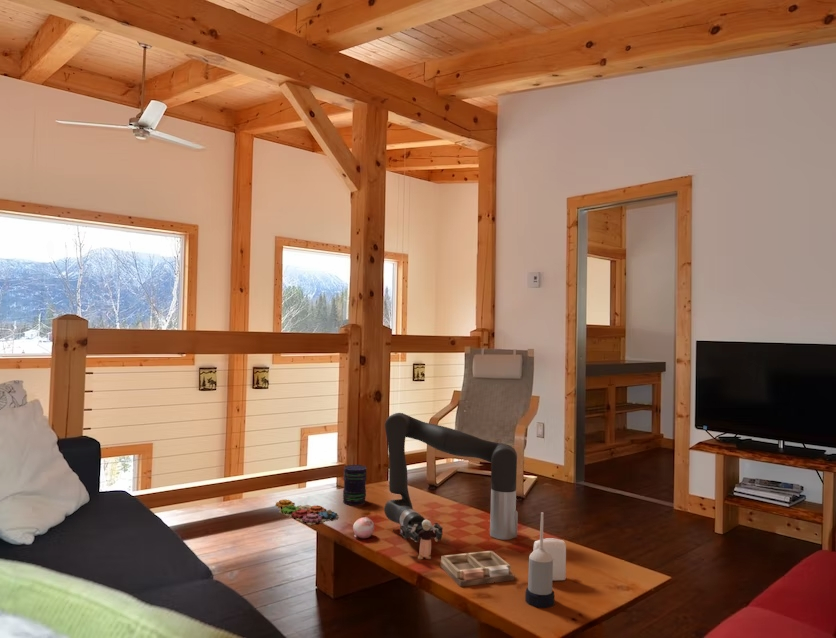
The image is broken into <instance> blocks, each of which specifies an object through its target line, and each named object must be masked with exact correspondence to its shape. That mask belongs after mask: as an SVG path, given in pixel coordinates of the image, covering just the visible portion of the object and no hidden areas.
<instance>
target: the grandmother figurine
mask: <svg viewBox="0 0 836 638" xmlns="http://www.w3.org/2000/svg"><path fill="white" fill-rule="evenodd" d="M422 526H423V529H424V530H421V531H420V532H419V533H418V535H419V539H420V540H419V549H418V550H419V553H418V556H417V559H418V560H424V558H425V559H426V560H431V559H432V556H431V553H432V538H433V539H434V542H438V541H439V540H438V539H437V535H436V534H435V532H434V530H433V531H431V530H429V529H430V527H431V526H433V524H432V522H431V521H430V519H429V520H428V519H425V520H424V521H423V522H422ZM414 542H415V543H417V542H416V541H414Z"/></svg>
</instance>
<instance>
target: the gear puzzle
mask: <svg viewBox="0 0 836 638" xmlns="http://www.w3.org/2000/svg"><path fill="white" fill-rule="evenodd" d="M295 504H296V503H295V502H293V501H292V500H289V499H281V500H279V501H278V502H275V507H277V508H279V509H280V508H281V507H282V508H281V509H280V510H279V511H278V513H279V514H281V515H283V514H284V516H286V517H289V518H292V519H294V518H295V520H296V521H299V522H301V523H306V525H308V526H315V525H316V524H317V523H319V524H322V523H326V522H329V521H331V520H332V518H333V520H337V519H340V516H339V514H338V513H337V512H335V511H333V510H331V509H326V508H324V507H323V506H321V505H308V504H305V505H301V504H300V505H297V506H295Z"/></svg>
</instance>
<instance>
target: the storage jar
mask: <svg viewBox="0 0 836 638" xmlns="http://www.w3.org/2000/svg"><path fill="white" fill-rule="evenodd" d="M343 469H344V470H343V481H344V485H343V490H342V499H343V501H342V503H343V504H344V505H347V506H361V505H364V504H366V497H367V489H366V481H367V466H365V465H361V464H348V465H345V466H344V467H343Z"/></svg>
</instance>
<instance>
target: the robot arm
mask: <svg viewBox="0 0 836 638" xmlns="http://www.w3.org/2000/svg"><path fill="white" fill-rule="evenodd" d="M384 430H385V436H386V440H387V442H386V443H387V449H388V479H389V480H388V484H389V485H388V489H389V492H390V493H391V494H394V495H399V496H400V497H401V499H399V498H398V499H391V500H388V501H387V502H386V503H385V505H384V507H383V508H384V514H385V516H386V518H387V519H388V520H389V521H391V522H394V523H397V524H400V529H399V534H400V535H401V536H402V537H403V538H404V539H405V540H407V539H409V538H410V539H411V540H413V541H414V542H415V541H416V542H415V543H420V538H419V535H418V533H419V532H420V531H421V530H424V529H423V526H422V522H423V521H424V520H426V519H425V518H424V517H423V515H421V514H420V513H419V512H418V511H416V510H415V509H413V505H412V500H411V497H410V493H409V487H408V484H409V482H408V481H409V479H408V466H407V461H406V452H405V451H406V450H405V446H406V445H405V444H406V438H409V439H412V440H416V441H419V442H421V443H424V444H427V445H428V446H429V447H432V448H433V449H434V450H435V449H436V450H438V451H440V452H443V453H446V454H449V455H452V456H456V457H457V456H458V457H464V458H474V459H475V458H476V459H480V460H483V461H486V462H489V463H490V465H491V466H490V513H489V514H490V517H489V519H490V522H489V535H490V537H491V538H494V539H497V540H512V539H514V538H518V517H519V516H518V515H519V513H518V511H517V510H516V506H517V469H518V467H517V465H518V462H517V461H518V454H517V451H516V450H515V448H514V447H513V446H512V445H509V444H505V443H499V442H495V441H490V440H485V439H482V438H479V437H477V436H474V435H472V434H469V433H466V432H463V431H461V430H457V429H454V428H451V427H447V426H443V425H440V424H439V425H438V424H434V423H429V422H425V421H422V420H419V419H417V418H415V417H412V416H410V415H408V414H405V413H403V412H395V413H393V414H391V415H389V416H388V417H387V418H386V420H385V423H384ZM443 529H444V528H443V526H441V524H439V523H438V522H435V523H434V524H432V526H431V527H430V529H429V530H431V531H433V532H434V533H435V534H436V535H437V539H438V541H441V539H442V538H443Z"/></svg>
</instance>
